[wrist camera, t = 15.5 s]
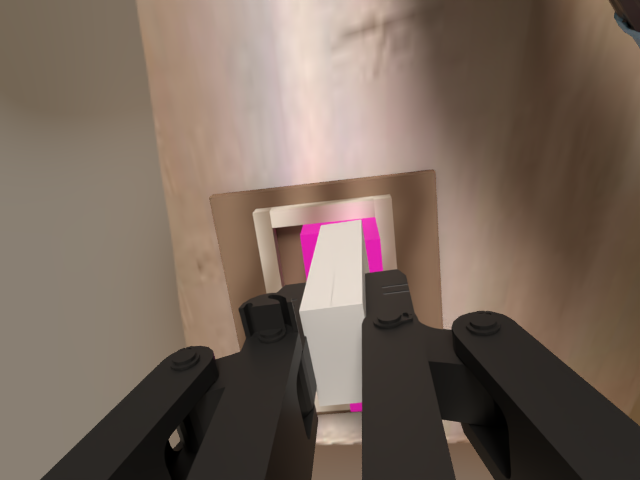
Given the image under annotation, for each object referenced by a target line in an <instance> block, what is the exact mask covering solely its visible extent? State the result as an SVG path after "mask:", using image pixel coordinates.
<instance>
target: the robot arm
mask: <svg viewBox="0 0 640 480" xmlns="http://www.w3.org/2000/svg"><path fill="white" fill-rule="evenodd" d="M609 2H610V4H611V5H612V7H613V9H614V10H615V14H614V18H615V20H616V22H617V24H618V26H619V27H620V28H621V29H622V30H623V31H624V32H625V33H627V34H629V35H630V36H632V37H633V39H634V40H635V42H636V43H637V45H638V46H639V48H640V0H609ZM238 310H239V313H240V317H241V321H242V325H243V329H244V332H245V336H246V340H245V342H244V344H243V347H242V349H241V351H240V352H238V353H235V354H232V355H229V356H226V357H222V358H219V359H216V360H215V356H214V353H213V350H211V349H210V348H209V347H205V346H190V347H186V348H183V349H180V350H178V351H177V352H175V353H173V354H171V355H170V356H168V357H167V358H166V359H164V360H163V361H162V362H161V363H160V364H159V365H158V366H157V367H156V368H155V369H154V370H153V371H152V372H151V373H150V374H148V375H147V376H146V377H145V378H144V379H143V380H142V381H141V382H140V383H139V384H138V385H137V386H136V387H135V388H134V389H133V390H132V391H131V392H130V393H129V394H128V395H127V396H126V397H125V398H124V399H123V400H122V401H121V402H120V403H119V404H118V405H117V406H116V407H115V408H114V409H112V410H111V411H110V412H109V413H108V414H107V415H106V416H105V417H104V418H103V419H102V420H101V421H100V422H99V423H98V424H97V425H96V426H95V427H94V428H93V429H92V430H91V431H90V432H89V433H88V434H87V435H86V436H85V437H84V438H83V439H82V440H81V441H80V442H79V443H77V445H76V446H74V447H73V448H72V449H71V450H70V451H69V452H68V453H67V454H66V455H65V456H64V457H63V458H62V459H61V460H60V461H59V462H58V463H57V464H56V465H55V466H54V467H53V468H52V469H51V470H50V471H49V472H48V473H47V474H46V475H45V476H43V478H41V480H311V477H312V468H313V459H314V452H315V451H314V450H315V443H316V434H317V426H318V417H317V412H316V407H315V395H316V392H317V396H318V401H319V406H329V405H340V404H350V403H361V402H362V480H456V479H455V474H454V470H453V466H452V462H451V457H450V453H449V449H448V444H447V440H446V436H445V431H444V427H443V423H442V419H443V420H449V421H456V422H461V426H462V428H463V431H464V433H465V435H466V436H467V438H468V439H469V441H470V443H471V444H472V446H473V447H474V449H475V450H476V452H477V453H478V455H479V456H480V458H481V459H482V461H483V463H484V464H485V466H486V467H487V469H488V470H489V472H490V473H491V475H492V476H493V478H494V479H495V480H640V426H639V425H638V424H636V423H635V422H634V421H633V420H632V419H630V418H629V417H628V416H627V415H626V414H625V413H623V412H622V411H621V410H620V409H619V408H617V407H616V406H615V405H614V404H613V403H611V402H610V401H609V400H608V399H607V398H605V397H604V396H603V395H602V394H601V393H599V392H598V391H597V390H596V389H595V388H593V387H592V386H591V385H590V384H589V383H588V382H586V381H585V380H584V379H583V378H582V377H580V376H579V375H578V374H577V373H576V372H574V371H573V370H572V369H571V368H570V367H568V366H567V365H566V364H565V363H564V362H562V361H561V360H560V359H559V358H558V357H556V356H555V355H554V354H553V353H552V352H551V351H549V350H548V349H547V348H546V347H545V346H543V345H542V344H541V343H540V342H539V341H537V340H536V339H535V338H534V337H533V336H531V335H530V334H529V333H528V332H527V331H525V330H524V329H523V328H522V327H521V326H519V325H518V324H517V323H516V322H515V321H514V320H512V319H511V318H509V317H507V316H505V315H503V314H499V313H495V312H491V311H486V312H485V311H477V312H472V313H468V314H465V315H462V316H460V317H458V318H457V319H456V320H455V321H454V322H453V325H452V330H446V329H438V328H433V327H429V326H426V325H424V324H422V323H421V322H420V321H419V320H418V317H417V316H416V314H415V312H414V308H413V303H412V299H411V295H410V291H409V286H408V282H407V277H406V275H405V274H404V273H402V272H401V271H400V270H398V269H394V270H386V271H379V272H371V273H370V271H369V265H368V258H367V252H366V246H365V239H364V233H363V227H362V220H354V221H347V222H341V223H334V224H327V225H321V227H320V231H319V235H318V239H317V243H316V247H315V251H314V255H313V259H312V262H311V266H310V270H309V274H308V278H307V282H305V283H297V284H289V285H285V286H283V287H282V288H281V289H280V290H279V291H278V292H277V293H267V294H263V295H259V296H256V297H254V298H251V299H249V300H247V301H246V302H244V303H243V304H242V305H241V306H240V307H239V308H238ZM175 429H177V431H178V434H179V437H180V442H179V443H178V444H177V445H176V447H174V448H173V449H172V447H171V446H170V443H169V440H168V439H169V438H170V436H171V434H172V433H173V432H174V431H175Z"/></svg>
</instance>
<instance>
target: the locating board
mask: <svg viewBox="0 0 640 480" xmlns="http://www.w3.org/2000/svg"><path fill="white" fill-rule="evenodd" d="M209 200H210V204H211V209H212V214H213V219H214V224H215V229H216V234H217V239H218V244H219V249H220V254H221V259H222V264H223V269H224V273H225V278H226V283H227V288H228V293H229V298H230V303H231V308H232V313H233V318H234V323H235V328H236V333H237V338H238V342H239V347H240V351H241V349H242V347H243V344H244V342H245V340H246V336H245V332H244V329H243V325H242V321H241V317H240V313H239V310H238V308H239V307H240V306H241V305H242V304H243V303H244V302H246V301H247V300H249V299H251V298H254V297H256V296H259V295H263V294H267V293H277V292H278V291H279V290H280V289H281V288H282V287H283V286H285V285H289V284H297V283H305V282H307V280H306V273H305V266H304V259H303V252H302V246H301V239H300V234H301V230H302V227H303V225H305V224H315V223H324V222H334V221H343V220H352V219H362V218H371V217H375V218H376V223H377V227H378V231H379V236H380V242H381V253H382V264H383V271H386V270H394V269H398V270H400V271H401V272H402V273H404V274H405V275H406V277H407V282H408V286H409V291H410V295H411V299H412V303H413V308H414V312H415V314H416V316H417V317H418V320H419V321H420V322H421V323H422V324H424V325H426V326H429V327H433V328H438V329H443V320H442V299H441V278H440V257H439V237H438V216H437V195H436V174H435V171H434V170H425V171H417V172H408V173H399V174H390V175H382V176H373V177H364V178H355V179H346V180H338V181H329V182H320V183H311V184H302V185H294V186H285V187H276V188H267V189H258V190H250V191H241V192H232V193H223V194H215V195H212V196H211V197H209ZM315 407H316V412H317V415H319V414H333V413H347V412H351V411H350V404H340V405H329V406H319V401H318V396H317V392H316V395H315ZM357 412H362V411H357Z"/></svg>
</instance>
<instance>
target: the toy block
mask: <svg viewBox="0 0 640 480" xmlns="http://www.w3.org/2000/svg"><path fill="white" fill-rule="evenodd" d="M354 220H362V227H363V233H364V239H365V246H366V252H367V258H368V265H369V271H370V273H371V272H379V271H383V264H382V253H381V242H380V236H379V231H378V227H377V223H376V218H375V217H371V218H362V219H352V220H343V221H334V222H324V223H315V224H305V225H303V227H302V230H301V234H300V239H301V246H302V252H303V259H304V266H305V273H306V280H307V278H308V274H309V270H310V266H311V262H312V259H313V255H314V251H315V247H316V243H317V239H318V235H319V231H320V227H321V225H327V224H334V223H341V222H347V221H354ZM350 411H351V412H357V411H362V402H361V403H350Z"/></svg>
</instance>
